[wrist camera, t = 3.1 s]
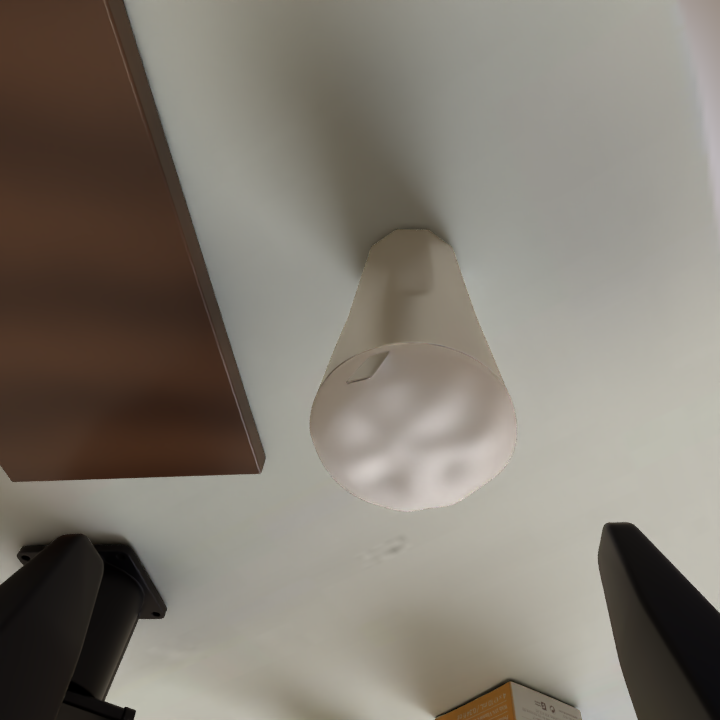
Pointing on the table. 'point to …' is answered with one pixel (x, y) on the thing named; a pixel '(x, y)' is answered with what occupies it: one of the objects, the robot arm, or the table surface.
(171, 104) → the table surface
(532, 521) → the table surface
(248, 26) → the table surface
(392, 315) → the milkshake
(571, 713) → the small box
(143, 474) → the walnut board
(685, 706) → the robot arm
